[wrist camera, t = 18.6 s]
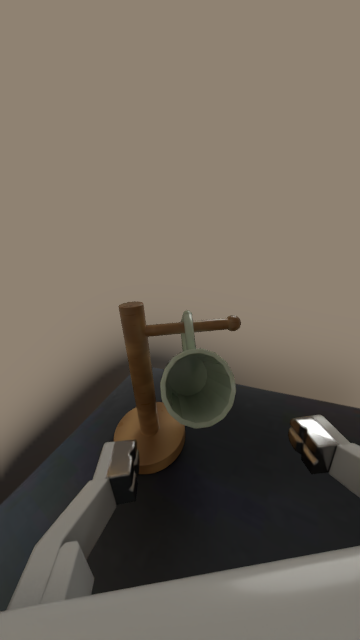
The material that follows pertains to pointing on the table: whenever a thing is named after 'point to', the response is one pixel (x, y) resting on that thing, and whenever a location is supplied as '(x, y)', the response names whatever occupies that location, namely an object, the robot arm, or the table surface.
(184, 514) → the table surface
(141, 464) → the mug stand
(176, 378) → the cup
